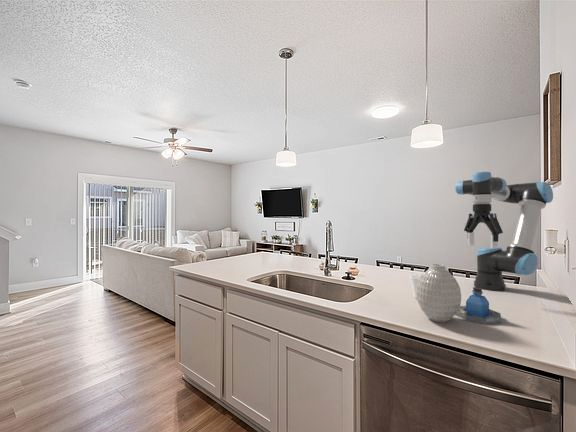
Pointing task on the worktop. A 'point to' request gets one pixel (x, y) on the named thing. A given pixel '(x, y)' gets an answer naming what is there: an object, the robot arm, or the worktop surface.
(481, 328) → the worktop surface
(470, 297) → the perfume bottle
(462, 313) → the ring
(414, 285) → the cup
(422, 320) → the worktop surface
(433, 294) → the vase
